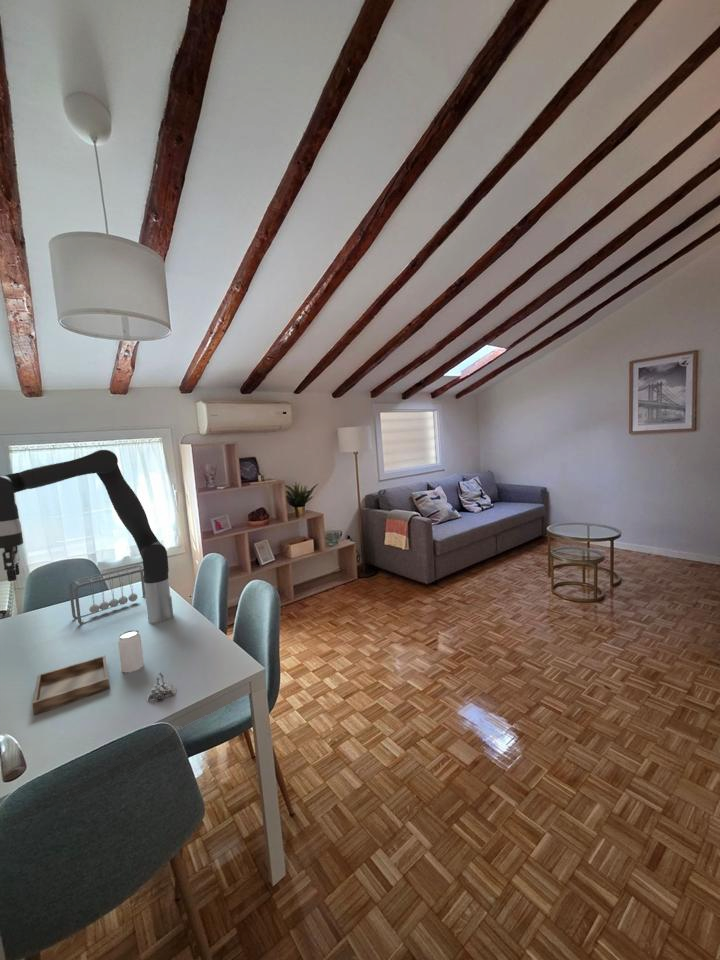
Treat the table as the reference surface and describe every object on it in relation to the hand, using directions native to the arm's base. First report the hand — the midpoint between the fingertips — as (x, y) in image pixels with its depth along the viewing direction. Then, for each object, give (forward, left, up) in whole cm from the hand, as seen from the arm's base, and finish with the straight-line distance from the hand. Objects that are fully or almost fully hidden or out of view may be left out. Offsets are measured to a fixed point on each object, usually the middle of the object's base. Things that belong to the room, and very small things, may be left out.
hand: (14, 577), depth 142 cm
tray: (-15, +36, -30) cm, 49 cm away
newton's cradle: (-30, -27, -30) cm, 50 cm away
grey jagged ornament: (-34, +61, -30) cm, 77 cm away
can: (-31, +36, -30) cm, 56 cm away
